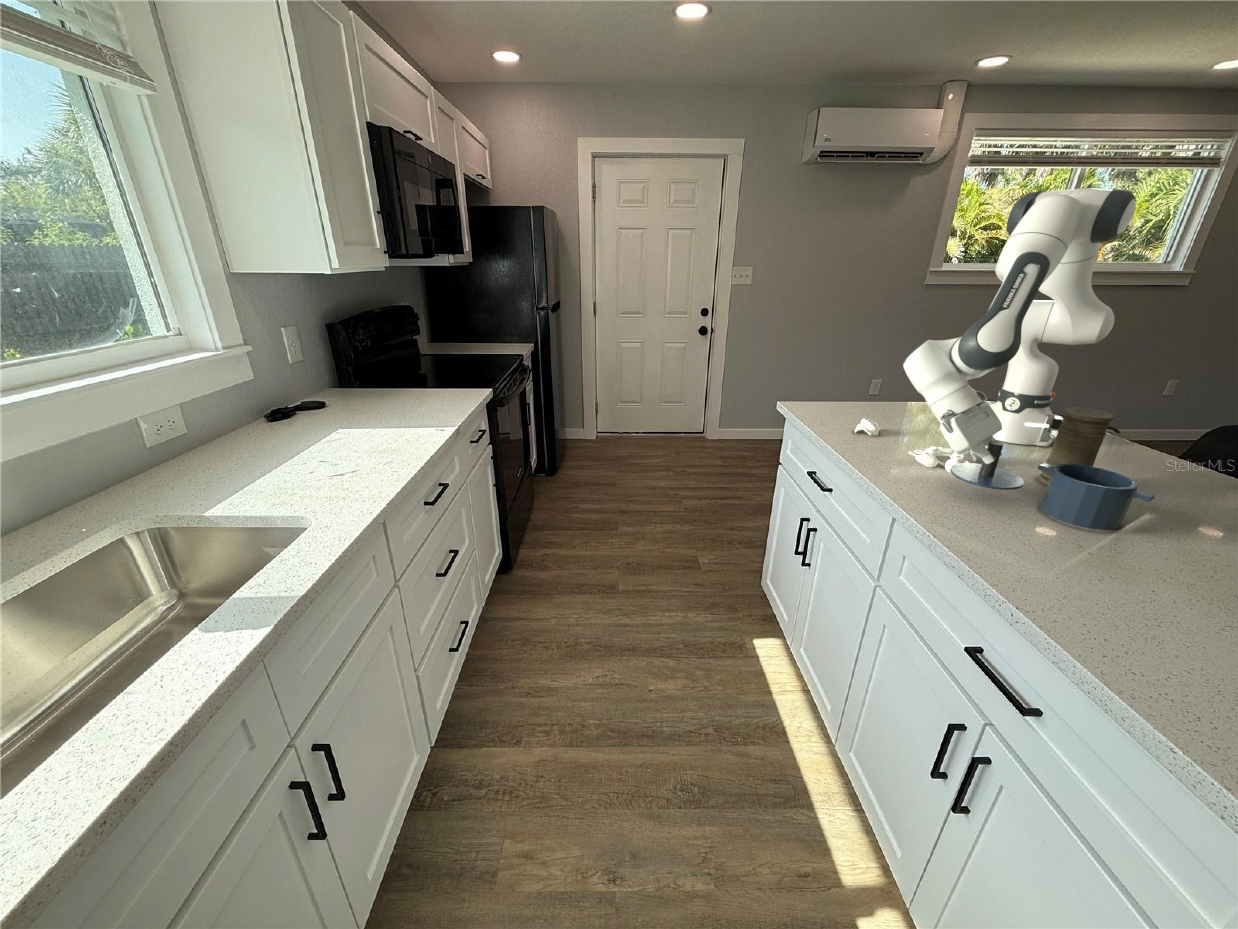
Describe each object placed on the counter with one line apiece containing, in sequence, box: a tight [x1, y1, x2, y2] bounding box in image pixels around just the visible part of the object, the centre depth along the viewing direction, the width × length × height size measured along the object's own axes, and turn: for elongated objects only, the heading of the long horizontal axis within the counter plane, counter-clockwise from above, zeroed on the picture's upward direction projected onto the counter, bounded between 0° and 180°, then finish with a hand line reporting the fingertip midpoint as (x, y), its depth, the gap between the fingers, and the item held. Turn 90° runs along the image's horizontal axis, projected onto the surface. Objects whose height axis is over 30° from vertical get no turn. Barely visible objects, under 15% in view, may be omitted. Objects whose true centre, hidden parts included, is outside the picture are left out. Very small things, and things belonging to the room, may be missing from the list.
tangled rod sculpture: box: [908, 445, 977, 474], centre depth 129 cm, size 19×14×4 cm
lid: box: [950, 440, 1025, 491], centre depth 107 cm, size 13×13×9 cm
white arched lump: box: [854, 417, 880, 436], centre depth 151 cm, size 8×7×5 cm
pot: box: [1037, 462, 1156, 531], centre depth 100 cm, size 12×18×10 cm
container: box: [1037, 407, 1115, 485], centre depth 113 cm, size 9×9×18 cm
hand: (994, 459), depth 107 cm, fingers closed on lid, 2 cm apart
